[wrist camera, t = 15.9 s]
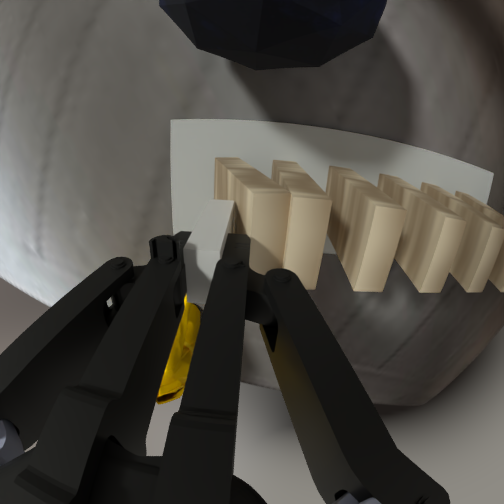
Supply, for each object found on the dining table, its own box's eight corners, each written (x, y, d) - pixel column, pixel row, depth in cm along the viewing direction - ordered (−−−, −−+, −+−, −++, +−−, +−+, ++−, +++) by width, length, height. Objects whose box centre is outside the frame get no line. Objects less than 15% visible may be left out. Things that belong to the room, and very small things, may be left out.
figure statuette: (194, 365, 37) (165, 511, 17) (142, 350, 36) (93, 488, 16) (222, 264, 29) (177, 491, 9) (150, 243, 28) (37, 435, 8)
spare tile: (443, 235, 26) (500, 292, 16) (455, 190, 23) (524, 234, 13) (455, 237, 26) (511, 291, 16) (467, 193, 23) (533, 237, 13)
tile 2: (267, 217, 26) (281, 288, 16) (272, 159, 23) (293, 197, 13) (289, 218, 26) (315, 289, 16) (295, 161, 23) (332, 200, 13)
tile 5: (409, 231, 26) (467, 292, 16) (421, 181, 23) (492, 226, 13) (424, 233, 26) (481, 292, 16) (436, 185, 23) (506, 229, 13)
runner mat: (172, 119, 22) (170, 119, 21) (491, 172, 22) (493, 173, 22) (175, 241, 27) (174, 243, 27) (465, 262, 28) (467, 263, 27)
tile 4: (368, 226, 26) (419, 292, 16) (379, 173, 23) (445, 217, 13) (386, 228, 26) (440, 292, 16) (397, 176, 23) (466, 221, 13)
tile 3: (320, 221, 26) (353, 291, 16) (329, 165, 23) (376, 205, 13) (340, 223, 26) (382, 292, 16) (350, 168, 23) (407, 210, 13)
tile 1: (213, 216, 25) (247, 286, 16) (214, 157, 22) (253, 193, 13) (235, 215, 26) (280, 282, 16) (237, 157, 23) (291, 193, 14)
